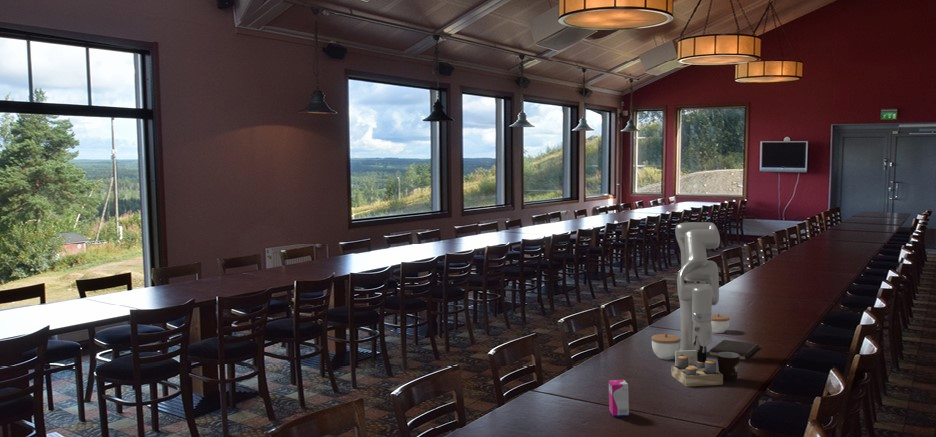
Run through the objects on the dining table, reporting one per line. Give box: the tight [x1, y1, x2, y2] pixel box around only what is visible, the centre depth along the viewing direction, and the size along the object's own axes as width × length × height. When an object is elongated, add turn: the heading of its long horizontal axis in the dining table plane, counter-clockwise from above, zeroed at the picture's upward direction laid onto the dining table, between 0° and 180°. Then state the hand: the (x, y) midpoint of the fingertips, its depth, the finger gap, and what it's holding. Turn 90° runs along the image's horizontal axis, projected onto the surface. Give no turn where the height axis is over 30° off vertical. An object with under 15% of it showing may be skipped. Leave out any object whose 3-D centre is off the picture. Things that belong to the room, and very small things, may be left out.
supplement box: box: [608, 379, 630, 418], centre depth 242 cm, size 6×6×12 cm
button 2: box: [685, 367, 696, 376], centre depth 274 cm, size 4×4×5 cm
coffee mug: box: [716, 352, 741, 383], centre depth 278 cm, size 12×9×10 cm
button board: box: [670, 364, 724, 387], centre depth 278 cm, size 15×15×4 cm
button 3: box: [696, 361, 705, 369], centre depth 282 cm, size 4×4×5 cm
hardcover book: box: [708, 339, 760, 361], centre depth 318 cm, size 16×23×2 cm
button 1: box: [677, 356, 688, 370], centre depth 281 cm, size 4×4×5 cm
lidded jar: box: [711, 313, 730, 334], centre depth 354 cm, size 11×11×9 cm
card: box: [674, 350, 697, 365], centre depth 288 cm, size 1×9×9 cm, turn 95°
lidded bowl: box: [650, 332, 681, 360], centre depth 311 cm, size 13×13×11 cm
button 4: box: [705, 360, 717, 375], centre depth 274 cm, size 4×4×5 cm
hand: (701, 361), depth 282 cm, fingers closed
